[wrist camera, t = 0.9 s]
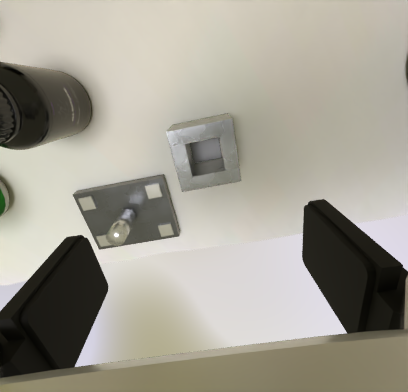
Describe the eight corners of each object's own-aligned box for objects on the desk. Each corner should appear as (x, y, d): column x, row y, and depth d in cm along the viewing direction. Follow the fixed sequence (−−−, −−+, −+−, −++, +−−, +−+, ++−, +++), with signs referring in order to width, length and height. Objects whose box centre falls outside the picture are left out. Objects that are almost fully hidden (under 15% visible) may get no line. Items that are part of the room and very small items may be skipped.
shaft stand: (163, 174, 30) (154, 194, 24) (180, 231, 34) (175, 260, 28) (77, 190, 31) (49, 213, 25) (102, 244, 35) (82, 274, 29)
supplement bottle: (106, 109, 26) (37, 124, 16) (68, 145, 28) (-17, 181, 17) (56, 54, 24) (-63, 26, 13) (19, 97, 26) (-115, 103, 15)
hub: (227, 113, 27) (232, 118, 22) (235, 166, 29) (241, 181, 25) (172, 124, 27) (166, 132, 23) (185, 176, 30) (181, 191, 25)
